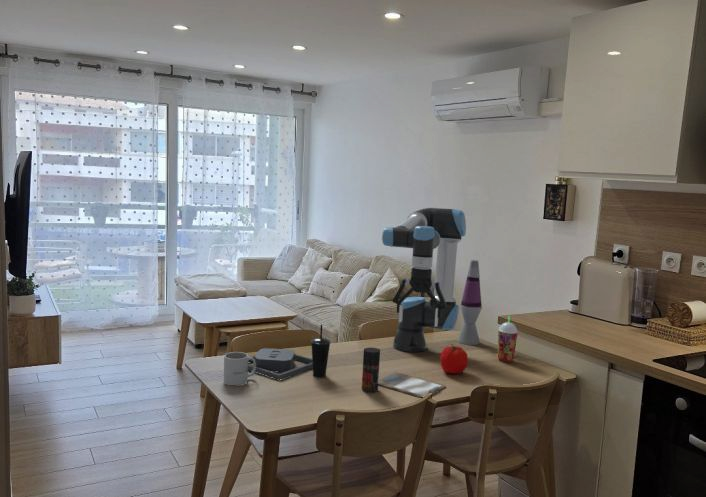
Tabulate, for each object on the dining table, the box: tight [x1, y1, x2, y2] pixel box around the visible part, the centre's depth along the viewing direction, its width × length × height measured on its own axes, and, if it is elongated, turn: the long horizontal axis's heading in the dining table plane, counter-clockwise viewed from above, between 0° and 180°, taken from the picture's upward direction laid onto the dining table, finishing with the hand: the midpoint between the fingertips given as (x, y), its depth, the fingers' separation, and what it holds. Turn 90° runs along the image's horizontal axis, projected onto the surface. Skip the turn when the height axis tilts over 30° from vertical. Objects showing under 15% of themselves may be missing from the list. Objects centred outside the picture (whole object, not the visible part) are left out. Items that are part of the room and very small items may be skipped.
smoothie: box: [497, 315, 519, 364], centre depth 252 cm, size 8×8×20 cm
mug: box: [223, 351, 256, 386], centre depth 212 cm, size 12×9×10 cm
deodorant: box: [361, 347, 381, 394], centre depth 210 cm, size 6×6×15 cm
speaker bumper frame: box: [248, 353, 313, 381], centre depth 232 cm, size 24×24×2 cm
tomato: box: [439, 344, 469, 374], centre depth 233 cm, size 12×12×11 cm
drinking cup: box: [310, 324, 332, 378], centre depth 222 cm, size 8×8×20 cm
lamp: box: [457, 259, 483, 346], centre depth 278 cm, size 11×11×40 cm
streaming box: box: [254, 347, 296, 373], centre depth 231 cm, size 14×14×5 cm
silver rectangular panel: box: [378, 371, 447, 398], centre depth 217 cm, size 22×16×1 cm
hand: (418, 323), depth 217 cm, fingers open, 13 cm apart
